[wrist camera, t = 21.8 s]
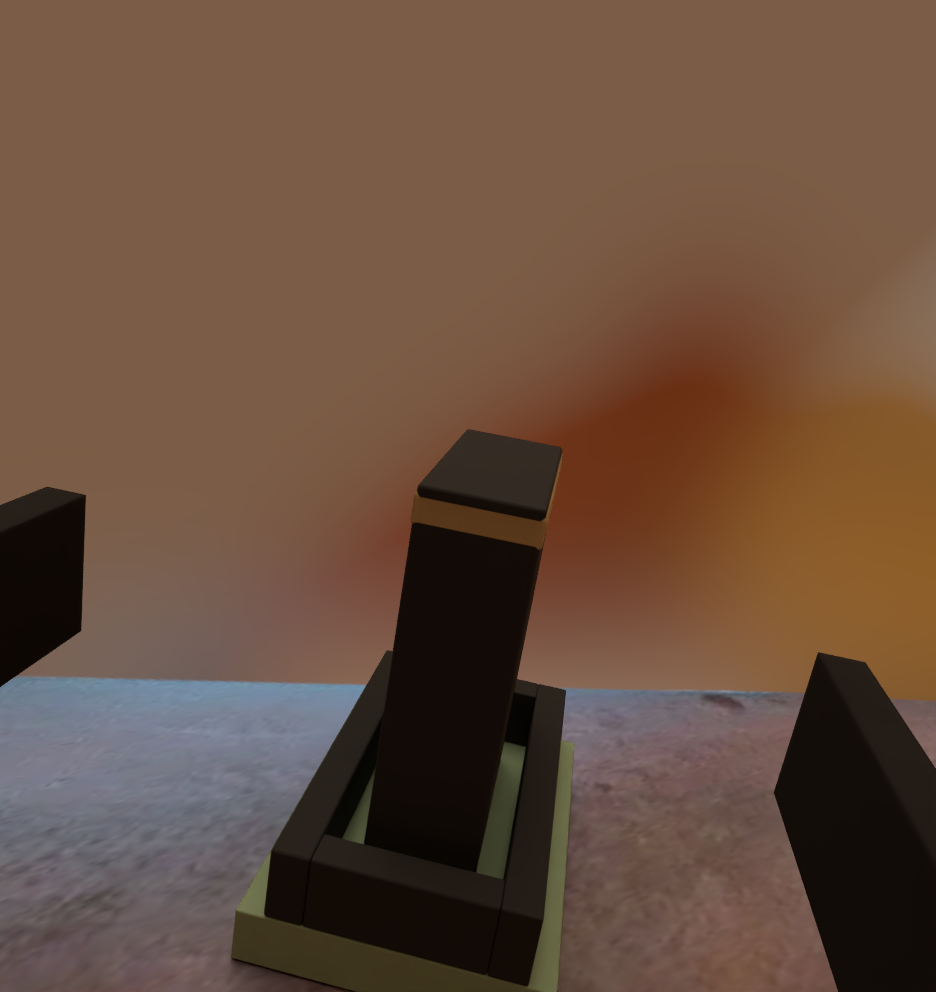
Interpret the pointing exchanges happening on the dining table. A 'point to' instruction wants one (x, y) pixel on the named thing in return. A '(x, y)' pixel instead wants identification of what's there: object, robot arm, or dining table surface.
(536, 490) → the dark brown banded block
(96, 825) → the dining table surface
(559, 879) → the black and green tray
